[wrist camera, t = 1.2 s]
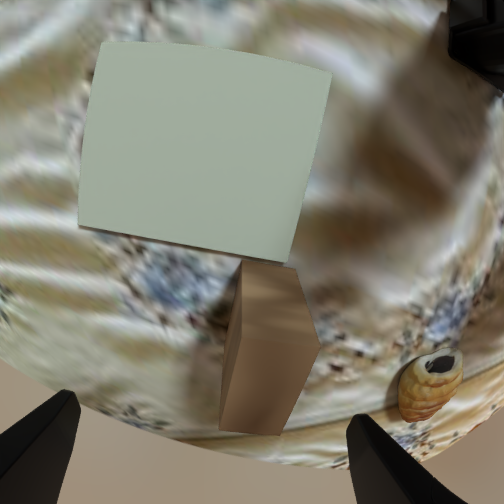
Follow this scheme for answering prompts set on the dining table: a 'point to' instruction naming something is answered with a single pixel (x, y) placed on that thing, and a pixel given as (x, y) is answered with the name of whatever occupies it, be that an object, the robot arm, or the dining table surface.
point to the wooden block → (265, 350)
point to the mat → (200, 146)
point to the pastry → (429, 384)
